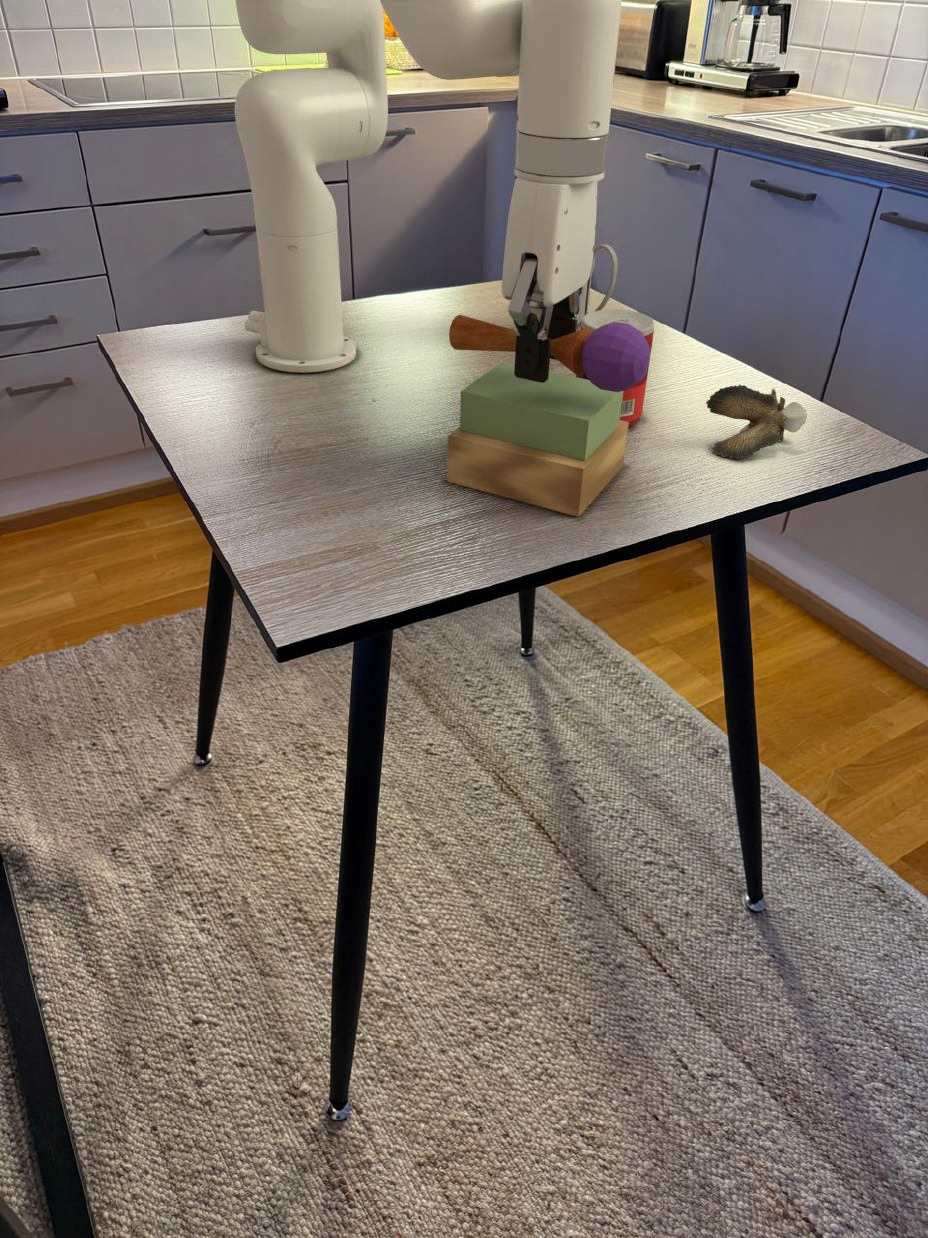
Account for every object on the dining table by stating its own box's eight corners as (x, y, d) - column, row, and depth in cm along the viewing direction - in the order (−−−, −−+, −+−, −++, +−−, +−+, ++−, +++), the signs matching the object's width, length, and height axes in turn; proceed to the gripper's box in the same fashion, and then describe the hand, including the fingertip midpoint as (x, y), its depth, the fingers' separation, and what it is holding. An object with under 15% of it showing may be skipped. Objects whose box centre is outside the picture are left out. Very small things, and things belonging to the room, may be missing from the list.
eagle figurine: (749, 411, 106) (690, 410, 101) (794, 371, 100) (733, 368, 95) (776, 468, 103) (717, 470, 99) (823, 431, 97) (762, 431, 93)
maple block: (447, 481, 93) (447, 434, 90) (500, 437, 101) (502, 393, 98) (578, 517, 88) (583, 468, 85) (623, 467, 96) (629, 421, 93)
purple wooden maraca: (477, 298, 93) (665, 324, 83) (473, 360, 95) (655, 392, 85) (442, 301, 88) (637, 329, 78) (439, 366, 91) (627, 400, 81)
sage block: (459, 430, 91) (460, 390, 88) (500, 398, 97) (502, 361, 95) (584, 461, 86) (589, 420, 84) (619, 425, 92) (624, 387, 90)
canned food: (651, 412, 108) (665, 316, 101) (624, 437, 102) (637, 337, 96) (590, 397, 111) (600, 304, 104) (560, 421, 105) (569, 323, 99)
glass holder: (559, 323, 132) (569, 209, 124) (630, 353, 123) (645, 233, 114) (510, 334, 128) (517, 217, 119) (579, 366, 119) (592, 242, 110)
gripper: (559, 137, 85) (544, 335, 96) (472, 167, 73) (466, 391, 83) (638, 146, 82) (614, 348, 93) (561, 179, 70) (543, 408, 80)
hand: (544, 366), depth 88 cm, fingers closed on purple wooden maraca, 5 cm apart
